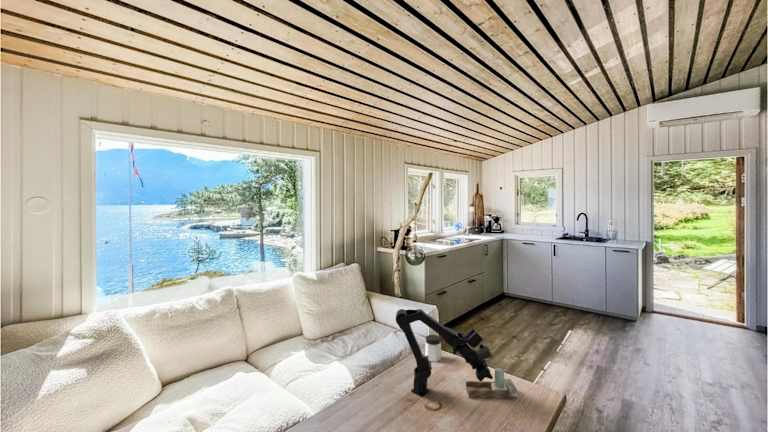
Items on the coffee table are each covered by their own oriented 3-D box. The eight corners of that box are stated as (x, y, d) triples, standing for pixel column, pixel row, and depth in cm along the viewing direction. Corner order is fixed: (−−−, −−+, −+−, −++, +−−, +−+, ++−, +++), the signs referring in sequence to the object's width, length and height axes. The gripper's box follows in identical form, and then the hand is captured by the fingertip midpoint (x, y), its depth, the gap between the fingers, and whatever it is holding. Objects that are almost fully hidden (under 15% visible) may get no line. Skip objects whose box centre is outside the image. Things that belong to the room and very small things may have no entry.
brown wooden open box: (468, 398, 143) (468, 387, 143) (465, 388, 151) (465, 377, 151) (516, 399, 142) (517, 388, 142) (511, 389, 150) (511, 379, 150)
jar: (443, 361, 178) (443, 339, 178) (429, 362, 176) (429, 341, 176) (436, 354, 187) (436, 333, 187) (423, 355, 185) (423, 335, 185)
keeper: (494, 393, 144) (494, 373, 144) (491, 387, 149) (491, 367, 149) (507, 393, 144) (507, 373, 143) (504, 387, 149) (504, 367, 148)
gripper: (485, 350, 137) (511, 377, 137) (476, 333, 156) (499, 356, 155) (466, 368, 138) (492, 394, 137) (459, 349, 156) (482, 372, 156)
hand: (492, 378), depth 146 cm, fingers closed
